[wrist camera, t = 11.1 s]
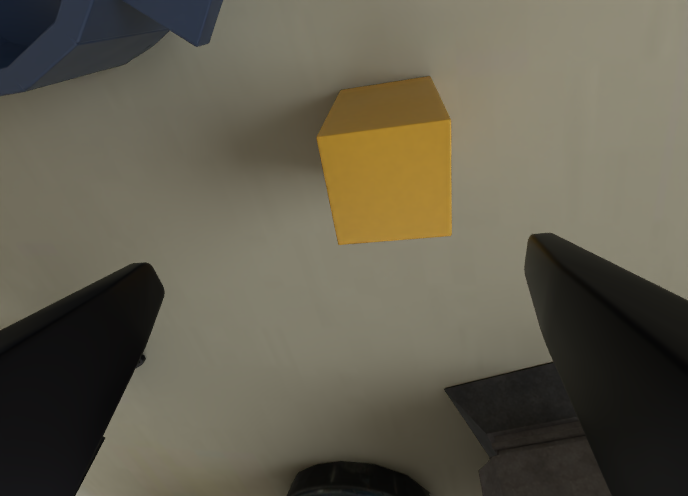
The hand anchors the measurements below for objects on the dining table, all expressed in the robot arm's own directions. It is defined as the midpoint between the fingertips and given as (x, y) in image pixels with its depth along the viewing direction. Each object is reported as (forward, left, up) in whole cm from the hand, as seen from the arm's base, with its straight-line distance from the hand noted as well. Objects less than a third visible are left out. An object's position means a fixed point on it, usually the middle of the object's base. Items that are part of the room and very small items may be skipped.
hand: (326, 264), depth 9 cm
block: (+1, -1, -12) cm, 12 cm away
